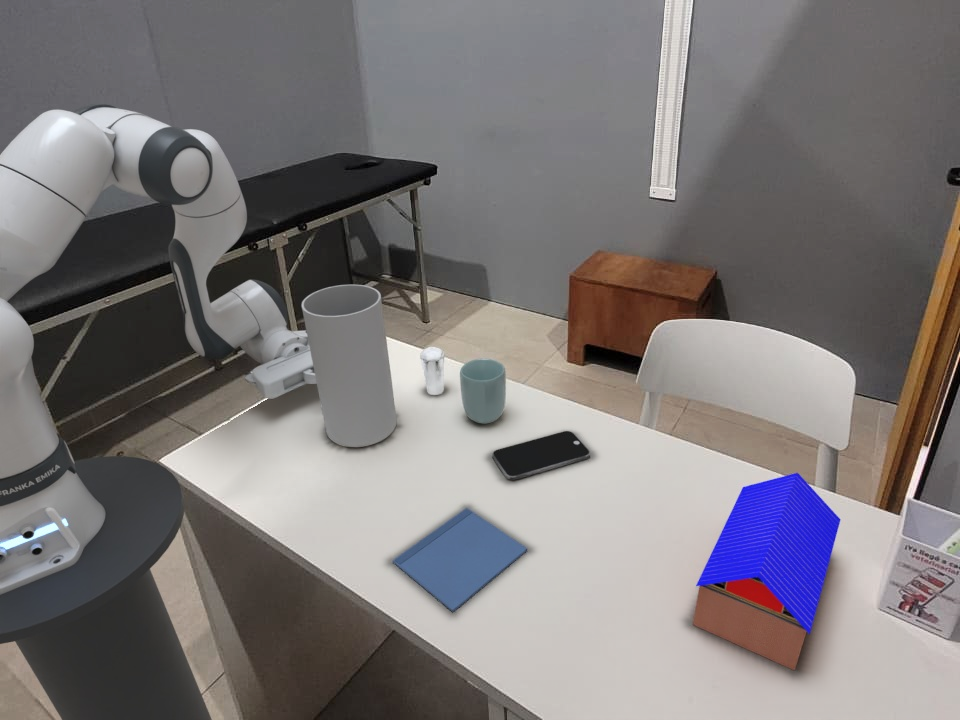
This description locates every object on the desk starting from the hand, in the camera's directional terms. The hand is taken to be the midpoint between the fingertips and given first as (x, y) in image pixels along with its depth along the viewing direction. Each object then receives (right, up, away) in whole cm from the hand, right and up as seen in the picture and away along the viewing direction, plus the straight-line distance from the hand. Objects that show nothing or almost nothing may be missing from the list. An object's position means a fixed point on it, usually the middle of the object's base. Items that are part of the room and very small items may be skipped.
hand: (329, 379), depth 118 cm
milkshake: (+19, -3, +8) cm, 21 cm away
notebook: (+25, -23, -30) cm, 45 cm away
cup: (+28, -7, -1) cm, 29 cm away
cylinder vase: (+6, -9, -2) cm, 11 cm away
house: (+63, -25, -36) cm, 77 cm away
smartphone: (+37, -12, -11) cm, 41 cm away
